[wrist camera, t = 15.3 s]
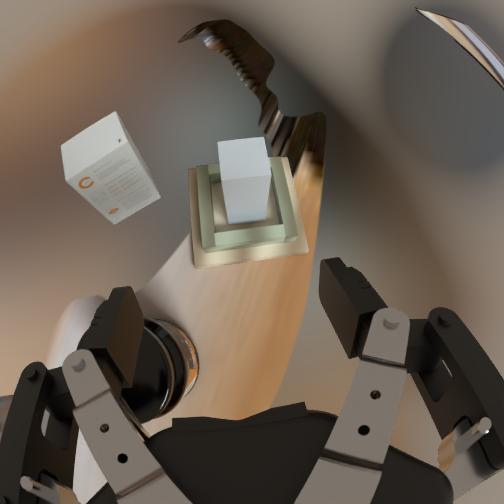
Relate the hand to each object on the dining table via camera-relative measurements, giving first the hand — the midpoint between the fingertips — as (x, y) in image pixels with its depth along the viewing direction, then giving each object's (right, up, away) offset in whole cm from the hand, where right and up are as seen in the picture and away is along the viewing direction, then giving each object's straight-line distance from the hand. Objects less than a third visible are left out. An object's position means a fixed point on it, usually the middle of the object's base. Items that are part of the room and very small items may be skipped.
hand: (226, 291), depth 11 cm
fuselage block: (0, +7, +24) cm, 25 cm away
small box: (-16, +10, +26) cm, 32 cm away
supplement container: (-10, -12, +20) cm, 25 cm away
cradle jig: (0, +7, +25) cm, 26 cm away
